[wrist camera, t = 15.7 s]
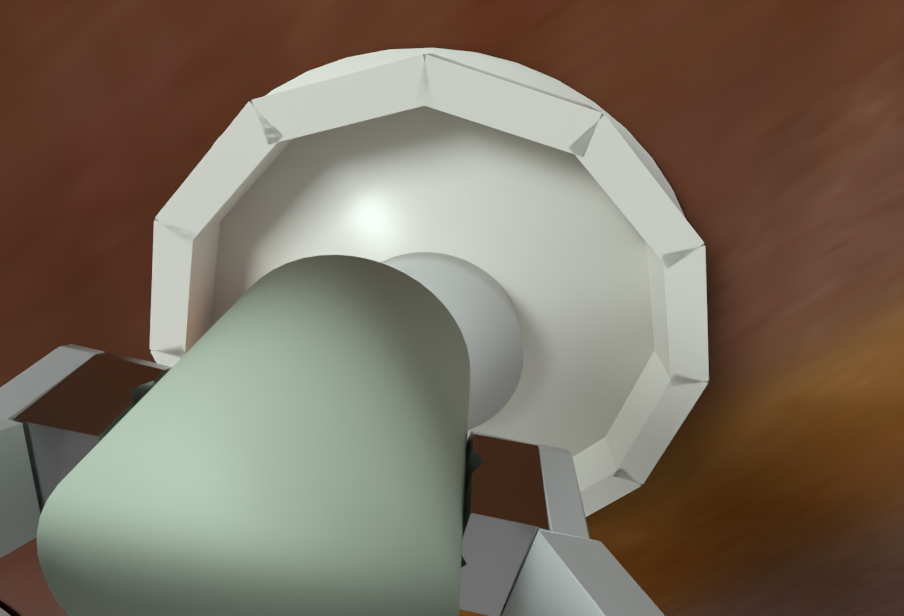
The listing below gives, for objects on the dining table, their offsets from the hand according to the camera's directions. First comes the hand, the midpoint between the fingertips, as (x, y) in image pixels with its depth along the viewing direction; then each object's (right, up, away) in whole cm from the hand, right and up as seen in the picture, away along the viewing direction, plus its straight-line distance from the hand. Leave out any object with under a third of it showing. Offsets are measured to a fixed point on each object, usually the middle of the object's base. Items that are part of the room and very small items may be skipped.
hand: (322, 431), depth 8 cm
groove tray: (+1, +1, +19) cm, 19 cm away
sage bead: (0, +1, +1) cm, 2 cm away
